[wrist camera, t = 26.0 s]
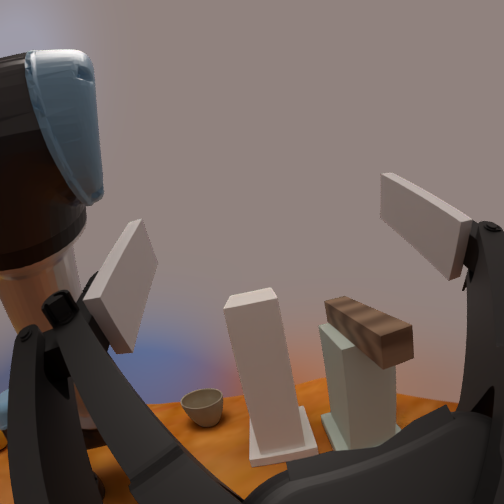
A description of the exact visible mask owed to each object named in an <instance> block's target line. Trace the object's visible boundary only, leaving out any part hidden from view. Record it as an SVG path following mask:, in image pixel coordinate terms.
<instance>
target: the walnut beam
mask: <svg viewBox="0 0 504 504" xmlns="http://www.w3.org/2000/svg"><path fill="white" fill-rule="evenodd" d="M325 308H326V314H327V321H328V323H330V324H331V325H332V326H333V327H334V328H335V329H336V330H338V331H339V332H340V333H341V334H342V335H343V336H345V337H346V338H347V339H348V340H349V341H350V342H351V343H353V344H354V345H355V346H356V347H357V348H358V349H360V350H361V351H362V352H363V353H364V354H365V355H366V356H368V357H369V358H370V359H371V360H372V361H373V362H375V363H376V364H377V365H378V366H379V367H380V368H381V369H383V370H384V369H387V368H390V367H392V366H395V365H398V364H400V363H403V362H405V361H408V360H410V359H413V358H414V351H413V331H412V325H410V324H408V323H406V322H404V321H401V320H399V319H397V318H394V317H392V316H390V315H387V314H385V313H383V312H380V311H378V310H376V309H374V308H371V307H369V306H366V305H364V304H362V303H360V302H357V301H355V300H353V299H350V298H348V297H346V296H343V297H339V298H335V299H331V300H327V301H325Z"/></svg>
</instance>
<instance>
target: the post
mask: <svg viewBox="0 0 504 504" xmlns="http://www.w3.org/2000/svg"><path fill="white" fill-rule="evenodd" d="M319 332H320V338H321V344H322V351H323V357H324V363H325V371H326V378H327V385H328V393H329V400H330V409H331V412H330V413H326V414H323V415H321V421H322V424H323V426H324V429H325V431H326V434H327V436H328V438H329V441H330V443H331V445H332V448H333V450H334V451H340V450H352V449H362V448H371V447H377V446H379V445H381V444H383V443H384V442H386V441H387V440H389V439H390V438H391V437H393V436H394V435H395V434H397V433H398V432H400V431H401V428H400V427H399V426H398V425H397V424H396V367H395V366H392V367H390V368H387V369H384V370H383V369H381V368H380V367H379V366H378V365H377V364H376V363H375V362H373V361H372V360H371V359H370V358H369V357H368V356H366V355H365V354H364V353H363V352H362V351H361V350H360V349H358V348H357V347H356V346H355V345H354V344H353V343H351V342H350V341H349V340H348V339H347V338H346V337H345V336H343V335H342V334H341V333H340V332H339V331H338V330H336V329H335V328H334V327H333V326H332V325H331V324H330V323H327V324H323V325H320V326H319Z"/></svg>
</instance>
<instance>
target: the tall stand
mask: <svg viewBox="0 0 504 504" xmlns="http://www.w3.org/2000/svg"><path fill="white" fill-rule="evenodd" d="M223 310H224V315H225V319H226V323H227V328H228V332H229V337H230V341H231V345H232V349H233V353H234V357H235V361H236V365H237V369H238V373H239V377H240V381H241V385H242V389H243V393H244V397H245V401H246V404H247V408H248V412H249V416H250V454H249V460H250V463H251V466H252V467H257V466H263V465H270V464H276V463H281V462H287V461H292V460H297V459H301V458H306V457H310V456H314V455H318V454H319V453H318V447H317V444H316V441H315V438H314V435H313V432H312V429H311V426H310V423H309V421H308V418H307V415H306V412H305V409H304V406H299V407H298V402H297V397H296V391H295V386H294V381H293V376H292V370H291V365H290V359H289V354H288V349H287V344H286V338H285V334H284V328H283V323H282V318H281V313H280V308H279V304H278V298H277V296H276V295H275V293H274V291H273V290H272V288H271V287H270V288H265V289H260V290H255V291H251V292H246V293H241V294H236V295H231V296H230V297H229V299H228V301H227V303H226V305H225V306H224V308H223Z"/></svg>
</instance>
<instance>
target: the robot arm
mask: <svg viewBox="0 0 504 504" xmlns="http://www.w3.org/2000/svg"><path fill="white" fill-rule="evenodd" d="M98 130H99V129H98V118H97V104H96V91H95V77H94V69H93V65H92V62H91V60H90V58H89V57H88V56H87V55H86V54H85V53H83V52H81V51H79V50H42V51H36V50H33V51H28V52H26V53H21V54H16V55H12V56H7V57H3V58H0V299H1V301H2V304H3V306H4V308H5V310H6V312H7V314H8V317H9V319H10V320H11V323H12V325H13V327H14V328H15V331H16V332H17V334H18V335H17V337H16V339H15V343H14V349H13V356H12V363H11V371H10V380H9V389H7V390H5V391H4V392H2V393H1V394H0V430H2V432H3V434H4V436H5V438H6V440H7V441H8V459H9V470H10V478H11V486H12V492H13V498H14V504H103V501H102V500H103V498H104V494H105V489H104V485H103V483H102V482H101V480H100V479H99V477H98V476H97V475H96V473H95V472H93V471H92V468H91V464H90V461H89V457H88V454H87V450H89V449H93V448H97V447H102V446H106V445H107V446H108V448H109V449H110V451H111V452H112V454H113V455H114V457H115V458H116V460H117V461H118V463H119V464H120V466H121V467H122V469H123V470H124V472H125V473H126V475H127V476H128V478H129V479H130V482H131V483H130V485H129V489H130V492H131V493H132V495H133V497H134V498H135V500H136V501H137V502H138V503H139V504H504V231H503V230H502V228H501V227H500V226H498V225H496V224H494V223H493V222H488V221H482V222H479V223H476V222H475V221H473V220H472V219H471V218H470V217H468V216H467V215H465V214H464V213H462V212H461V211H459V210H457V209H456V208H454V207H453V206H451V205H449V204H447V203H446V202H445V201H443V200H441V199H439V198H438V197H436V196H434V195H433V194H431V193H429V192H427V191H426V190H424V189H422V188H420V187H418V186H417V185H415V184H413V183H411V182H409V181H407V180H405V179H404V178H402V177H400V176H398V175H396V174H393V173H382V174H381V211H380V212H381V213H380V218H381V219H382V220H383V221H384V222H385V223H387V224H388V225H389V226H390V227H391V228H392V229H394V230H395V231H396V232H397V233H398V234H399V235H401V236H402V237H403V238H404V239H405V240H406V241H407V242H408V243H410V244H411V245H412V246H413V247H414V248H415V249H416V250H417V251H418V252H419V253H420V254H422V255H423V256H424V257H425V258H426V259H427V260H428V261H429V262H430V263H431V264H432V265H433V266H434V267H435V268H436V269H437V270H438V271H439V272H440V273H441V274H442V275H443V276H444V277H445V278H446V279H447V280H448V281H450V280H452V279H455V278H457V277H460V275H461V271H462V267H463V264H464V265H465V266H466V267H467V268H468V272H467V275H466V279H465V282H464V285H463V289H462V291H464V290H465V288H466V287H467V339H466V355H465V365H464V375H463V382H462V389H461V396H460V401H459V404H458V407H457V409H456V411H455V412H450V411H449V409H448V407H447V405H444V406H442V407H440V408H438V409H436V410H434V411H432V412H430V413H428V414H426V415H424V416H422V417H420V418H418V419H416V420H414V421H413V422H411V423H410V424H409V425H407V426H406V427H405V428H404V429H402V430H401V431H400V432H398V433H397V434H395V435H394V436H393V437H391V438H390V439H389V440H387V441H386V442H384V443H383V444H381V445H379V446H377V447H371V448H362V449H352V450H340V451H329V452H326V453H322V454H318V455H314V456H310V457H306V458H302V459H297V460H292V461H287V462H286V464H287V469H288V470H286V471H283V472H281V473H279V474H277V475H275V476H273V477H271V478H270V479H268V480H267V481H265V482H264V483H262V484H261V485H259V486H258V487H257V488H256V489H255V490H254V491H252V492H251V493H250V494H249V496H248V497H247V498H246V499H245V500H244V499H242V498H241V497H240V496H239V495H237V494H236V493H235V492H234V491H232V490H231V489H230V488H229V487H227V486H226V485H225V484H224V483H222V482H221V481H220V480H219V479H218V478H216V477H215V476H214V475H213V474H212V473H211V472H210V471H209V470H208V469H206V468H205V467H204V466H203V465H202V464H201V463H200V462H199V461H198V460H197V459H196V458H195V457H194V456H193V455H192V454H191V453H190V452H189V451H188V450H187V449H186V448H185V447H184V446H183V445H182V444H181V443H180V442H179V441H178V440H177V439H176V438H175V437H174V436H173V435H172V434H171V432H170V431H169V430H168V429H167V428H166V427H165V426H164V425H163V424H162V422H161V421H160V420H159V419H158V418H157V417H156V416H155V414H154V413H153V412H152V411H151V410H150V408H149V407H148V406H147V405H146V404H145V402H144V401H143V400H142V399H141V397H140V396H139V395H138V394H137V392H136V391H135V390H134V389H133V387H132V386H131V384H130V383H129V382H128V380H127V379H126V378H125V376H124V375H123V374H122V372H121V371H120V370H119V368H118V367H117V365H116V364H115V362H114V361H113V360H112V358H111V357H110V355H109V354H108V352H107V351H108V348H109V345H111V347H112V348H113V350H114V351H115V352H116V354H123V353H133V350H134V346H135V342H136V338H137V334H138V330H139V326H140V322H141V318H142V315H143V312H144V308H145V304H146V301H147V298H148V294H149V290H150V287H151V284H152V281H153V277H154V274H155V271H156V268H157V265H158V261H157V259H156V256H155V254H154V251H153V248H152V245H151V242H150V240H149V237H148V234H147V231H146V228H145V225H144V222H143V220H142V219H139V220H135V221H131V222H129V224H128V225H127V227H126V228H125V230H124V231H123V233H122V234H121V236H120V237H119V239H118V240H117V242H116V244H115V245H114V247H113V249H112V250H111V252H110V253H109V255H108V257H107V258H106V260H105V262H104V263H103V265H102V267H101V269H100V270H99V271H97V272H96V273H95V274H94V275H93V276H92V277H91V278H90V279H89V281H88V283H87V284H86V287H85V288H84V290H83V293H82V290H81V286H80V281H79V276H78V271H77V266H76V261H75V255H74V249H73V244H74V243H75V242H76V241H77V240H78V239H79V237H80V236H81V234H82V233H83V231H84V229H85V226H86V221H87V215H86V206H91V205H93V204H94V203H95V202H97V201H99V200H100V199H102V197H103V194H104V190H103V172H102V163H101V151H100V141H99V131H98Z"/></svg>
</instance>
